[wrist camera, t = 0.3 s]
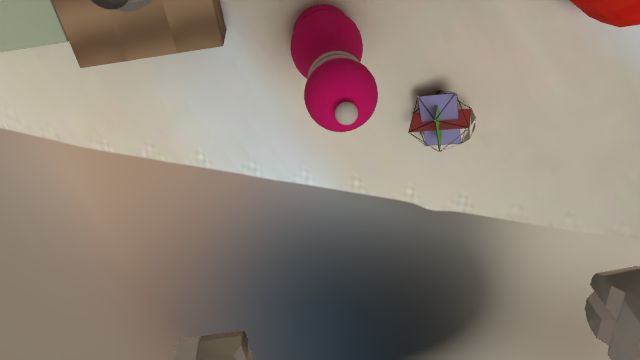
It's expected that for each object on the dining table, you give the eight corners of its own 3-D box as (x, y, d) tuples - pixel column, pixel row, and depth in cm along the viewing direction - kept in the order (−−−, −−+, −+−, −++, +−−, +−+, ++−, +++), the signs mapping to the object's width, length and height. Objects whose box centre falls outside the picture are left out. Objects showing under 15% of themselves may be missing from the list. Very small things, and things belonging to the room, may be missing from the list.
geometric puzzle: (398, 152, 61) (453, 170, 56) (388, 102, 58) (446, 117, 52) (434, 123, 65) (490, 137, 59) (427, 74, 61) (486, 84, 55)
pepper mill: (276, 20, 53) (282, 102, 37) (337, -14, 52) (372, 55, 36) (308, 76, 57) (326, 174, 41) (366, 46, 56) (409, 134, 39)
